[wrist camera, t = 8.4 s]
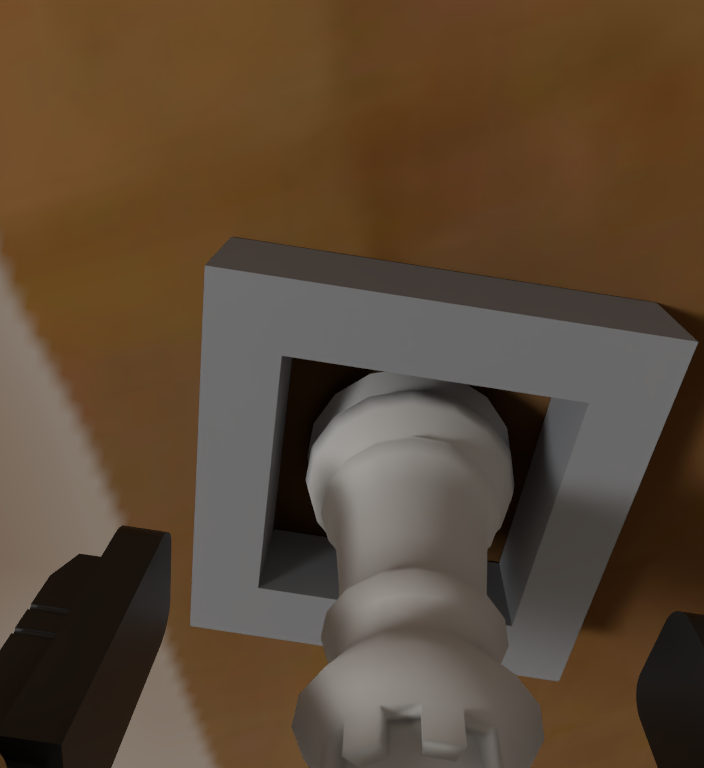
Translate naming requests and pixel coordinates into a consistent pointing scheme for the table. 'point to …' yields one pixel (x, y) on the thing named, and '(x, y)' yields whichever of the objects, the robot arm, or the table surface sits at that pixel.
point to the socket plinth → (435, 361)
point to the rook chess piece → (413, 583)
